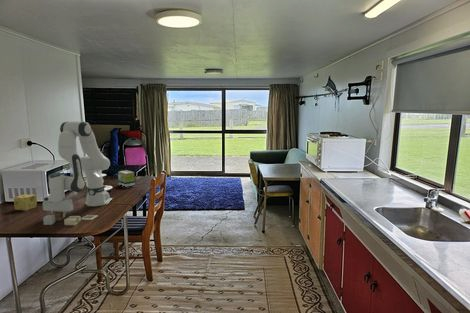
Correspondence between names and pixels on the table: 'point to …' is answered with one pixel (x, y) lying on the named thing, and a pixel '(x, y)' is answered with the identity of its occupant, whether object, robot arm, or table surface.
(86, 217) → the swatch
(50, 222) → the grey cube
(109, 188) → the candlestick
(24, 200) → the cheese
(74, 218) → the oak base block
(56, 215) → the walnut cube
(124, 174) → the tea box
